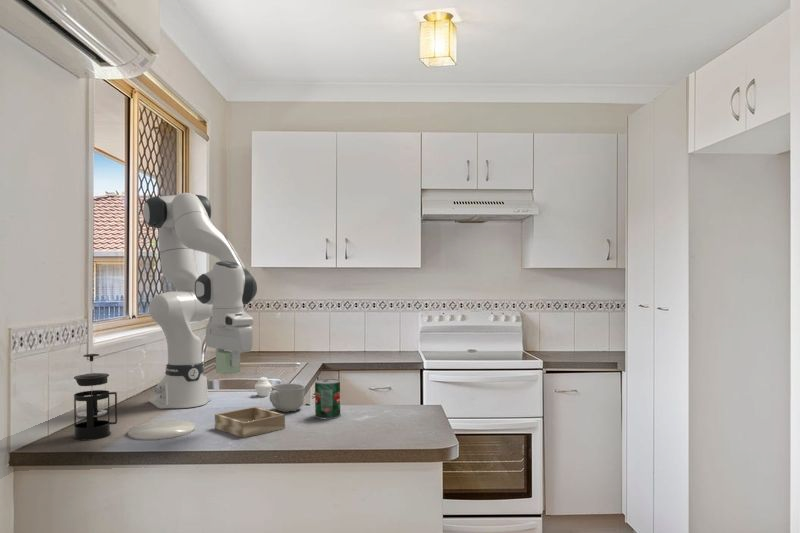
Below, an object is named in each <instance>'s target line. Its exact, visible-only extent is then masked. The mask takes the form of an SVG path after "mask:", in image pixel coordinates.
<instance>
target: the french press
mask: <svg viewBox="0 0 800 533" xmlns="http://www.w3.org/2000/svg"><path fill="white" fill-rule="evenodd" d="M99 356H100V354H99V353H87V354H84V355H82V357H84V358H85V357H86V358H89V362H90V373H85V374H79V375H75V376H73V380H75V381H76V383H77V385H78V386H80V387H90V390H86V391H80V392H76V393H74V395H73V407H74V408H73V409H74V410H73V411H74V412H73V413H74V415H73V417H74V419H73V420H74V425H73V426H74V434H73V439H74V438H76V439H86V440H85V441H88V440H87V439H94V440H98V438H100V439H104V438H106V437H109V436H111V433H112V432H111V427H110V426H111V425H117V424H118V392H117V391H112V392H111V391H109V390H105V389H104V390H103V389H100V390H99V389H96V390H94V389H93V386H101V385H105V384H107V383H108V378H109V376H110V374H108V373H104V372H103V373H101V372H98V373H97V372H94V373H93V362H94V357H99ZM110 395H114V408H115V409H114V411H115V412H114V417H115V419H114V421H111V420H110V417H111V416H110V410H111V409H110ZM105 399H107V409H98V401H99V400H105ZM77 402H85V403H86V404H85V405H86V410H84V411H83V410H82V411H80V412H77ZM105 416H107V418H108V419H107V420H105V419H98V418H102V417H105ZM77 419H85V420H86V421H82V422H79V423H77ZM76 439H75V440H76Z"/></svg>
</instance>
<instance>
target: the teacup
mask: <svg viewBox="0 0 800 533" xmlns="http://www.w3.org/2000/svg"><path fill="white" fill-rule="evenodd" d="M305 389H306V387H305V385H303V384H299V383H277V384H273V385H272V387H271V391H270V392H269V401H270V403H271V404H272V406H273V407H274V408H275V409H276V410H277V411H278V412H281V411H282V412H283V413H290V412H289V411H293V412H296V411H295V410H297V411H298V410H299V409H300V408H301V407H303V404H304V401H305Z"/></svg>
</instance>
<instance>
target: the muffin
mask: <svg viewBox="0 0 800 533" xmlns="http://www.w3.org/2000/svg"><path fill="white" fill-rule="evenodd" d="M272 386H273V385H272V383H270V381H269V378H267V377H266V376H262V377H259V378H258V379H257V382H256V383H255V384H254V389H255V392H256V393H257V396H258V397H261V398H264V397H268V396H269V395H270V393H271V391H272Z"/></svg>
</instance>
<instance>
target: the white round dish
mask: <svg viewBox="0 0 800 533" xmlns="http://www.w3.org/2000/svg"><path fill="white" fill-rule="evenodd" d="M195 426H196V424H195V423H194V422H192V421H187V420H179V419H178V420H172V419H171V420H169V419H168V420H158V421H152V422H151V421H150V422H144V423H142V424H137V425H135V426H132V427H131V428H129V429H128V430H127V436H128V437H129V438H131V439H134V440H139V441H159V440H158V439H160V440H168V439H173V437H174V438H179V437H182V435H183V436H185V435H188V434H191V433H193V432H194V431H195V429H196V427H195ZM167 438H168V439H167Z"/></svg>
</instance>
